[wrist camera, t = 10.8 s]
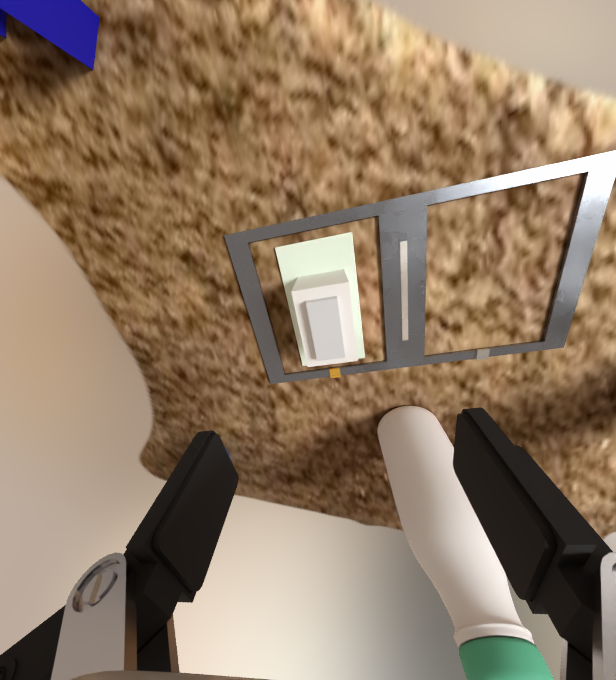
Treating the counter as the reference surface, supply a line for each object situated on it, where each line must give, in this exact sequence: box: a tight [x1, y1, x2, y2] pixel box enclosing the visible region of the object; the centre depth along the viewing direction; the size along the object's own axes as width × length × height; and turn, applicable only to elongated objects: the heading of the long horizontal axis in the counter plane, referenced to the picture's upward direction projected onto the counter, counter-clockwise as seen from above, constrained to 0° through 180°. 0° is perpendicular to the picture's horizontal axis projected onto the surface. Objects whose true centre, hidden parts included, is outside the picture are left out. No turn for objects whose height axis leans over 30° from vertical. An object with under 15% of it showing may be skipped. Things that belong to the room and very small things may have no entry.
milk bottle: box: [377, 406, 554, 680], centre depth 23 cm, size 8×8×20 cm
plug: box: [291, 269, 358, 367], centre depth 22 cm, size 5×7×6 cm, turn 11°
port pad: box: [275, 232, 365, 366], centre depth 25 cm, size 7×13×1 cm, turn 11°
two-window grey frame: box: [224, 151, 616, 384], centre depth 24 cm, size 32×17×1 cm, turn 101°
